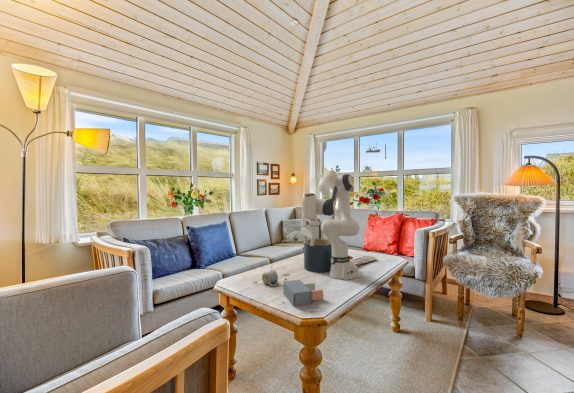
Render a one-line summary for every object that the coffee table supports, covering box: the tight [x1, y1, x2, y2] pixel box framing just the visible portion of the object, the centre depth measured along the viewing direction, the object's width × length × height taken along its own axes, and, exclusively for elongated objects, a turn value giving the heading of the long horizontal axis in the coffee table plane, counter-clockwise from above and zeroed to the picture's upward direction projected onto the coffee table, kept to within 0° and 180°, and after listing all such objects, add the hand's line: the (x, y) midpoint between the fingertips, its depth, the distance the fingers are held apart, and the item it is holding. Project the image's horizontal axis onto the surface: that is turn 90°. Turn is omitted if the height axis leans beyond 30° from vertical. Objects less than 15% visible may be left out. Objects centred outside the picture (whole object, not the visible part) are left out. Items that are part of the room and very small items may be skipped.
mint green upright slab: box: [303, 282, 316, 290], centre depth 159 cm, size 14×1×5 cm, turn 108°
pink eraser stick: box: [311, 288, 324, 302], centre depth 149 cm, size 14×1×5 cm, turn 108°
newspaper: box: [350, 255, 377, 267], centre depth 222 cm, size 35×12×4 cm, turn 134°
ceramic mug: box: [261, 270, 279, 287], centre depth 174 cm, size 11×8×8 cm
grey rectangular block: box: [283, 279, 313, 307], centre depth 152 cm, size 11×18×7 cm, turn 18°
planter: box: [303, 238, 332, 274], centre depth 207 cm, size 22×22×20 cm
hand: (308, 244), depth 162 cm, fingers open, 8 cm apart
